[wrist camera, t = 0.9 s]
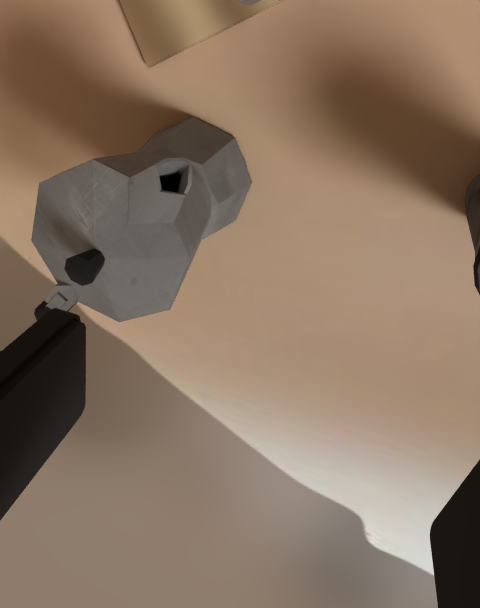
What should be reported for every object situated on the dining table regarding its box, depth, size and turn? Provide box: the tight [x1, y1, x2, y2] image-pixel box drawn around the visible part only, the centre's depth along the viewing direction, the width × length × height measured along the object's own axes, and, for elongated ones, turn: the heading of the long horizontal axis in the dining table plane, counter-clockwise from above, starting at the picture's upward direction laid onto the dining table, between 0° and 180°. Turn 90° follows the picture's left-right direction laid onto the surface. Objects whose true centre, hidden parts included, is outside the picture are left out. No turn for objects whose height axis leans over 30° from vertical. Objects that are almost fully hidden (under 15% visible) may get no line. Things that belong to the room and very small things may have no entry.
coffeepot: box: [31, 117, 252, 322], centre depth 30 cm, size 15×9×18 cm, turn 135°
